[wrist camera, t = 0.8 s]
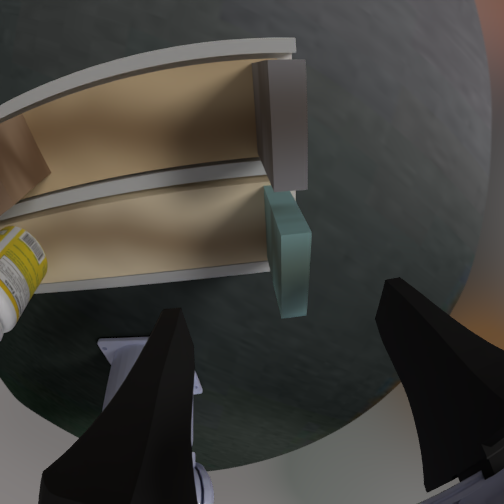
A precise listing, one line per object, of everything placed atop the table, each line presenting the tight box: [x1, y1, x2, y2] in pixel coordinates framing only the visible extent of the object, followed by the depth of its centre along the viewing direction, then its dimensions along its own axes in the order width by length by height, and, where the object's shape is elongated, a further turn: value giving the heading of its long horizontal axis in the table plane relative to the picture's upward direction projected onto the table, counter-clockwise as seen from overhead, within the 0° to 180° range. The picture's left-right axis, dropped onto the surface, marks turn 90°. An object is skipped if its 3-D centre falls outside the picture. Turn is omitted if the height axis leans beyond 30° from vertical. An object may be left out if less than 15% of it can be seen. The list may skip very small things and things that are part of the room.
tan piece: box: [0, 175, 311, 319], centre depth 15 cm, size 5×22×6 cm, turn 94°
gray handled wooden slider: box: [13, 58, 308, 200], centre depth 11 cm, size 5×22×6 cm, turn 94°
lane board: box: [0, 38, 296, 294], centre depth 16 cm, size 14×24×2 cm, turn 94°
